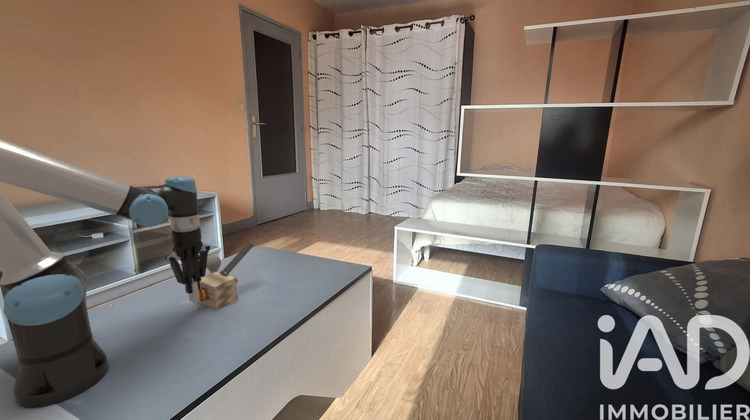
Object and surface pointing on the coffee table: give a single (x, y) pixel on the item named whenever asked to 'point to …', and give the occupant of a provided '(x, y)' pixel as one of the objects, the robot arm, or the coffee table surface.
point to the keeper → (236, 259)
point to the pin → (205, 293)
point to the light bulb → (213, 263)
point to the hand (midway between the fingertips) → (194, 300)
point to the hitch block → (219, 290)
